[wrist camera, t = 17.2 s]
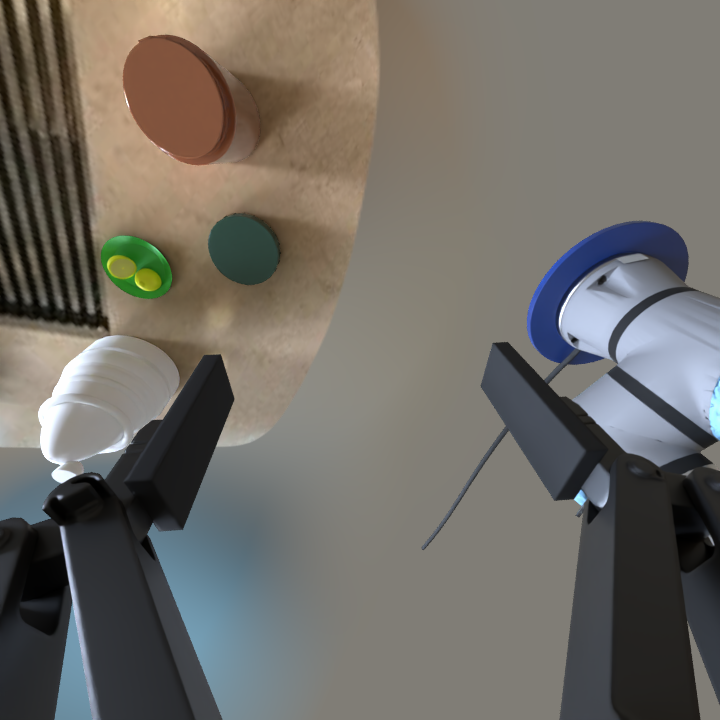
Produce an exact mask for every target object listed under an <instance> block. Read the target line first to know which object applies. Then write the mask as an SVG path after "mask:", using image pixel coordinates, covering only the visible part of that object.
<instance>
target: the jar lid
mask: <svg viewBox="0 0 720 720" xmlns="http://www.w3.org/2000/svg"><path fill="white" fill-rule="evenodd" d="M279 245H280V244H279V242H278V239H277V237H276V235H275V234H274V232H273V231H272V229H271V227H269V226H268V225H267V224H266V223H265V222H264V221H263V220H261V219H259V218H257V217H255V216H254V215H253V216H252V215H249V214H245V213H238V214H236V213H234V214H232V215H229V216H225V217H224V219H222V220H220V221H218V222H217V224H216V225H215V226H214V227H213V229H212V230H211V232H210V235H209V239H208V249H209V253H210V256H211V259H212V261H213V263H214V264H215V266H216V267H217V269H218V270H219V271H220V272H221V273H222V274H223V275H224V276H226V277H227V278H229V279H230V280H232V281H234V282H237V283H240V284H245V285H255V284H259V283H262V282H264V281H266V280H267V279H268V278H270V277H271V276H272V274H273V273H274V271H276V269H277V268H276V267H277V265H278V264H279V262H280V260H279V259H280V254H281V252H280V246H279Z"/></svg>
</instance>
